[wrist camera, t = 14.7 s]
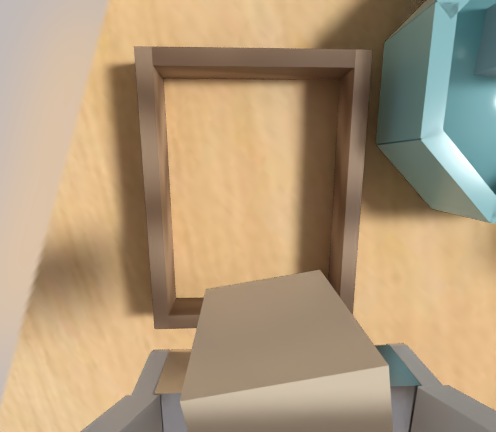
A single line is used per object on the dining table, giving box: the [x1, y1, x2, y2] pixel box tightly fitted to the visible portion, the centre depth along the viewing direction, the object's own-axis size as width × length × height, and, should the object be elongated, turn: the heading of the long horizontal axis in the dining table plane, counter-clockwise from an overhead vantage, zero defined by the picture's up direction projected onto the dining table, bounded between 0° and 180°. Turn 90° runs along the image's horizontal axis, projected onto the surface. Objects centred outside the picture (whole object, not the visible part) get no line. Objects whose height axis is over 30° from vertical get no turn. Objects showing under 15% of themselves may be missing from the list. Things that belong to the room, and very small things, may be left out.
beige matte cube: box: [180, 270, 393, 432], centre depth 8 cm, size 4×4×4 cm
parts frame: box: [134, 46, 373, 329], centre depth 19 cm, size 18×14×2 cm
